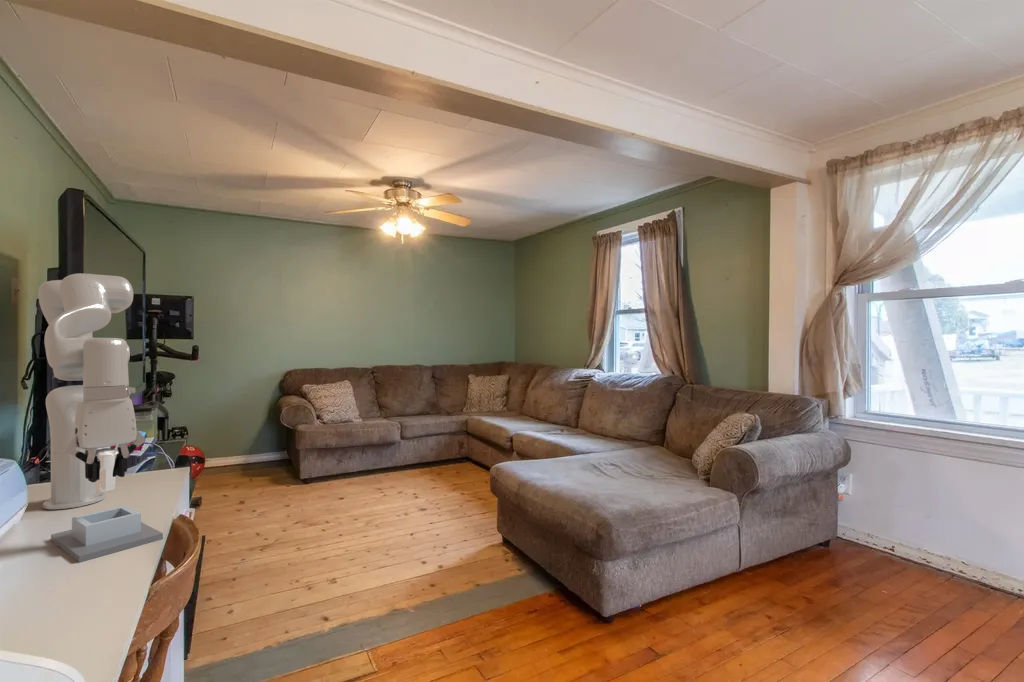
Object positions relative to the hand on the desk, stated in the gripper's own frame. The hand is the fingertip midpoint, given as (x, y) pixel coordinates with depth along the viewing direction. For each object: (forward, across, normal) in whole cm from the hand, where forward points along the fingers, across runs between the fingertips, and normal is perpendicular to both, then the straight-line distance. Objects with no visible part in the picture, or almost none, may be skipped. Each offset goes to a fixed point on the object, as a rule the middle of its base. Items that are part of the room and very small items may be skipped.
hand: (106, 477), depth 107 cm
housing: (+13, 0, 0) cm, 13 cm away
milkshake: (+3, 0, 0) cm, 3 cm away
